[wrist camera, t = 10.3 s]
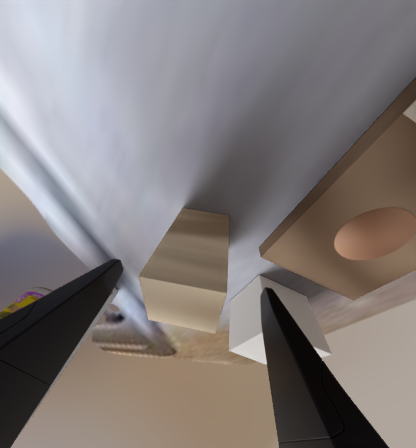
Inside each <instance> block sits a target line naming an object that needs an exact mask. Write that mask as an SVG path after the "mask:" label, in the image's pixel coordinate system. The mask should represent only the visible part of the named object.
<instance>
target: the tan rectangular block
mask: <svg viewBox="0 0 416 448" xmlns="http://www.w3.org/2000/svg"><path fill="white" fill-rule="evenodd" d="M229 220H230V216H229V215H223V214H216V213H210V212H204V211H198V210H191V209H185V208H182V210H181V211H180V213H179V214H178V216H177V217H176V219H175V221H174V222H173V224H172V225H171V227H170V228H169V230H168V231H167V233H166V234H165V236H164V238H163V239H162V241H161V242H160V244H159V245H158V247H157V248H156V250H155V251H154V253H153V255H152V256H151V258H150V259H149V261H148V262H147V264H146V265H145V267H144V268H143V270H142V272H141V273H140V275H139V276H138V277H139V281H140V285H141V290H142V294H143V298H144V302H145V307H146V311H147V315H148V319H149V320H153V321H158V322H163V323H167V324H172V325H177V326H182V327H186V328H191V329H196V330H201V331H205V332H210V333H215V332H216V328H217V325H218V322H219V318H220V315H221V312H222V308H223V305H224V301H225V298H226V295H227V277H228V248H229Z"/></svg>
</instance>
